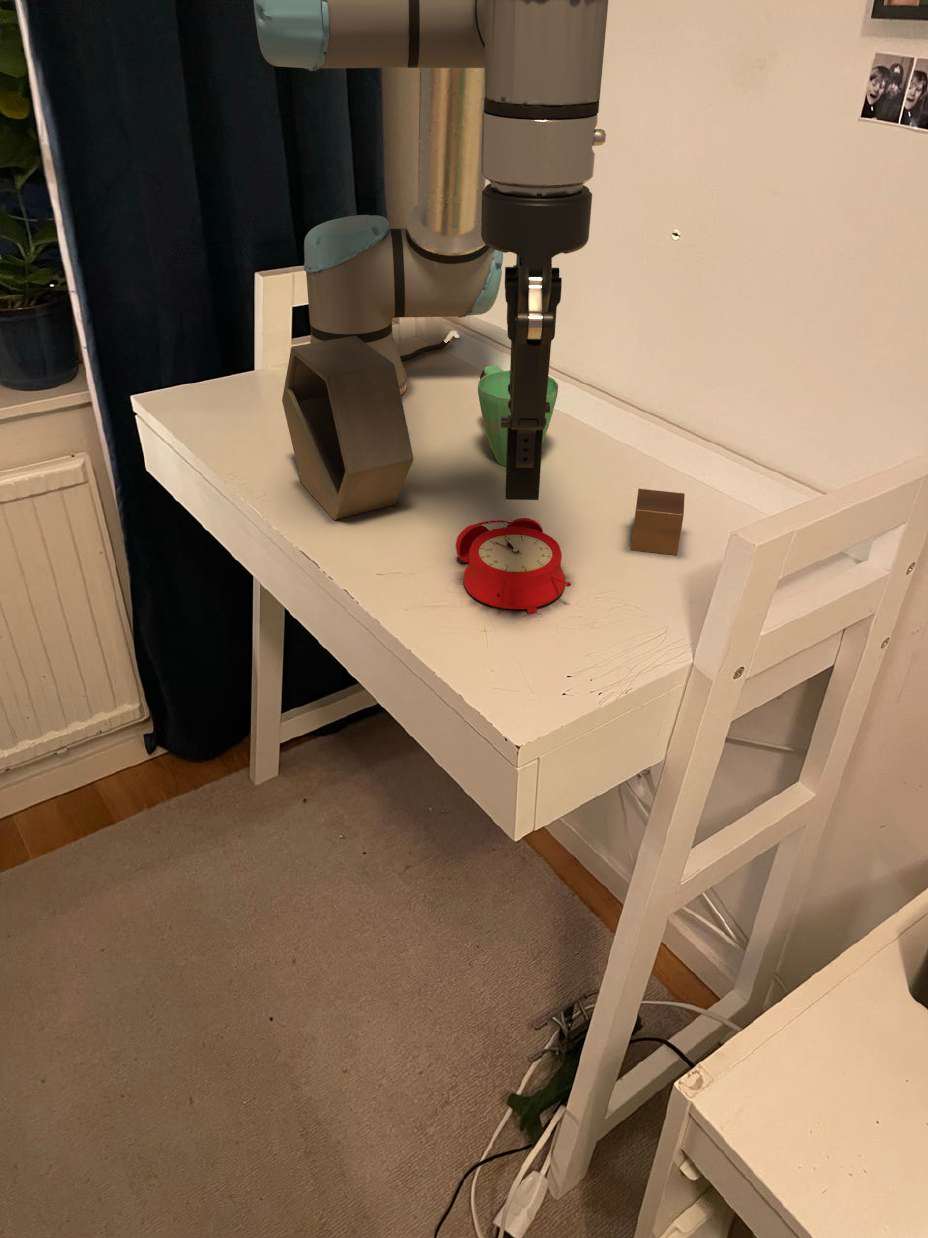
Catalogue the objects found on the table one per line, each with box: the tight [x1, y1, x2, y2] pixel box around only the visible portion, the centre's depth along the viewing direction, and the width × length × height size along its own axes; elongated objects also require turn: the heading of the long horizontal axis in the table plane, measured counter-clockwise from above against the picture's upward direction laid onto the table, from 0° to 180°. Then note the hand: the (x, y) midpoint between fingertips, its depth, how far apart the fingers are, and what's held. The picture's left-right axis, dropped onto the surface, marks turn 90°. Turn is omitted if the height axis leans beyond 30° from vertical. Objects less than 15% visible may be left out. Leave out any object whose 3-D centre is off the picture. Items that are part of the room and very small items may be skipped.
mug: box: [477, 364, 559, 468], centre depth 118 cm, size 15×10×10 cm
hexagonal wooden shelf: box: [281, 336, 414, 521], centre depth 106 cm, size 17×8×21 cm
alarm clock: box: [455, 517, 572, 615], centre depth 96 cm, size 10×6×15 cm
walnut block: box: [630, 488, 686, 556], centre depth 102 cm, size 5×5×5 cm
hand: (521, 494), depth 77 cm, fingers closed
